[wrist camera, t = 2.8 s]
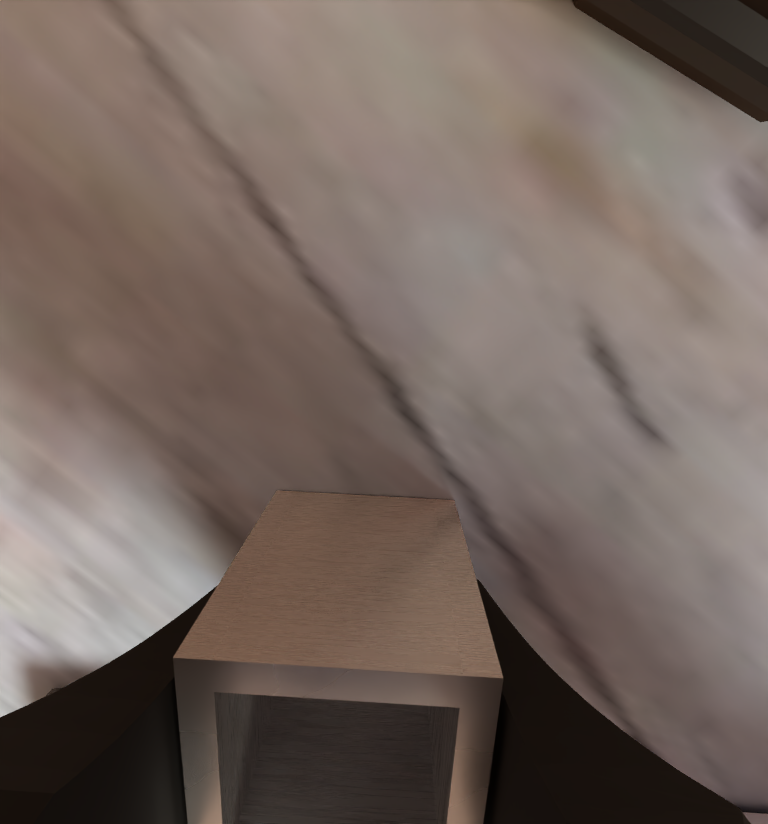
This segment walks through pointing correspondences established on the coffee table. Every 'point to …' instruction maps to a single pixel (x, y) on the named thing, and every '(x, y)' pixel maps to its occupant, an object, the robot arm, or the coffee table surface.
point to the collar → (341, 671)
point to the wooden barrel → (700, 42)
